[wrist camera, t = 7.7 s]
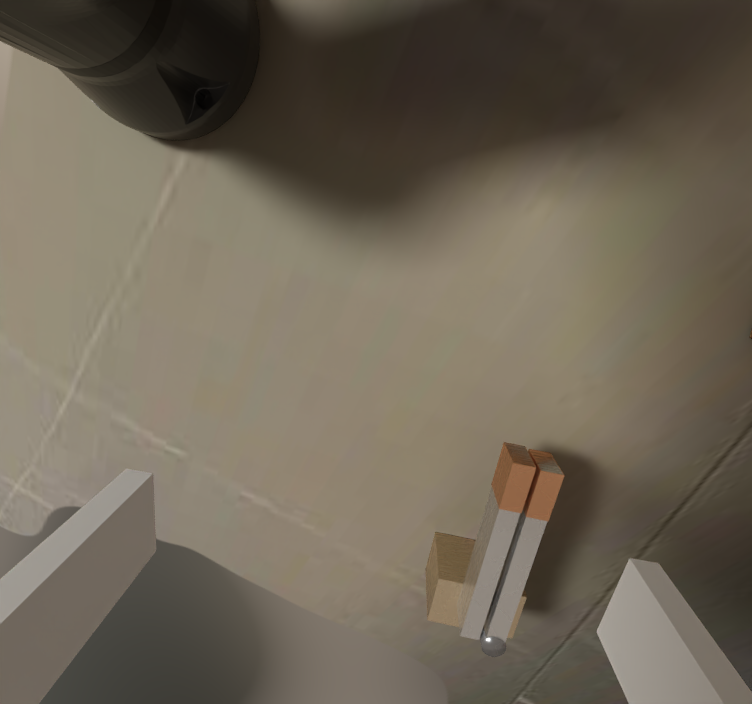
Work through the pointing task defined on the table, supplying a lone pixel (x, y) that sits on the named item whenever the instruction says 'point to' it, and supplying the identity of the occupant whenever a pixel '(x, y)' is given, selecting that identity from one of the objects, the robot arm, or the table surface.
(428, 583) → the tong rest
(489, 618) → the tong arm
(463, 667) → the table surface
